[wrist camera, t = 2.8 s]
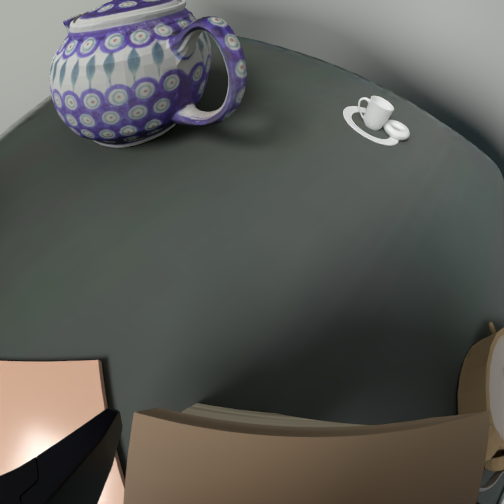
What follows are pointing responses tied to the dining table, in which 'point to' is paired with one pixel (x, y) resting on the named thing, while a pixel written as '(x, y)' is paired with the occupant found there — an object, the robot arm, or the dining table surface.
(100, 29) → the teapot
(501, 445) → the alarm clock
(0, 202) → the dining table surface
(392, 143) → the teacup and saucer
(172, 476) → the ash post
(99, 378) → the terracotta tile
